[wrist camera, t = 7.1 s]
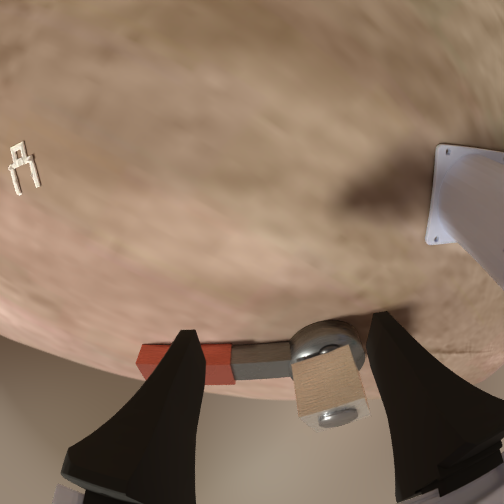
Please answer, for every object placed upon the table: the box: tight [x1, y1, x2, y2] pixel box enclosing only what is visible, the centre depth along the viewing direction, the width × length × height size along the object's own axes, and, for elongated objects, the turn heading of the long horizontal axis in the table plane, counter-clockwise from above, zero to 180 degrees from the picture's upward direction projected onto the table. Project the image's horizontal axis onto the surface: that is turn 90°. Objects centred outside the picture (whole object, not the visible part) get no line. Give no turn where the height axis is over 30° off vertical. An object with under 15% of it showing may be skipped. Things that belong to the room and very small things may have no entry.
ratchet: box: [136, 320, 365, 385], centre depth 24 cm, size 21×7×5 cm, turn 96°
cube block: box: [291, 344, 371, 432], centre depth 21 cm, size 5×5×5 cm
